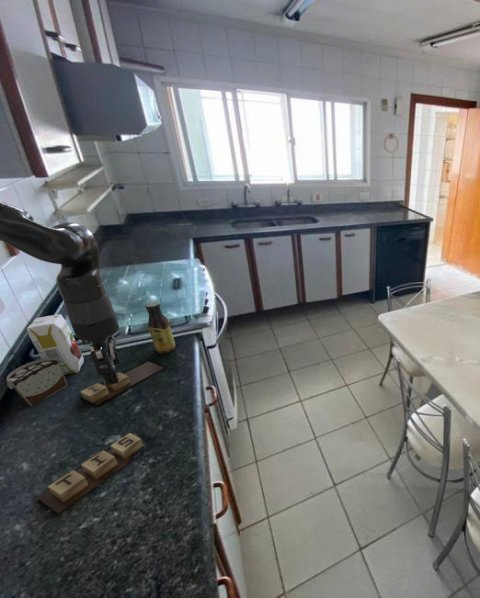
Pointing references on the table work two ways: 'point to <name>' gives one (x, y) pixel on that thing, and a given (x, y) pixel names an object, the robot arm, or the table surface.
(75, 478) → the left word rack
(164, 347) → the sauce bottle
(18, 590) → the table surface
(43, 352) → the juice carton
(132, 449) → the s tile
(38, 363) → the food container
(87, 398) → the right word rack
